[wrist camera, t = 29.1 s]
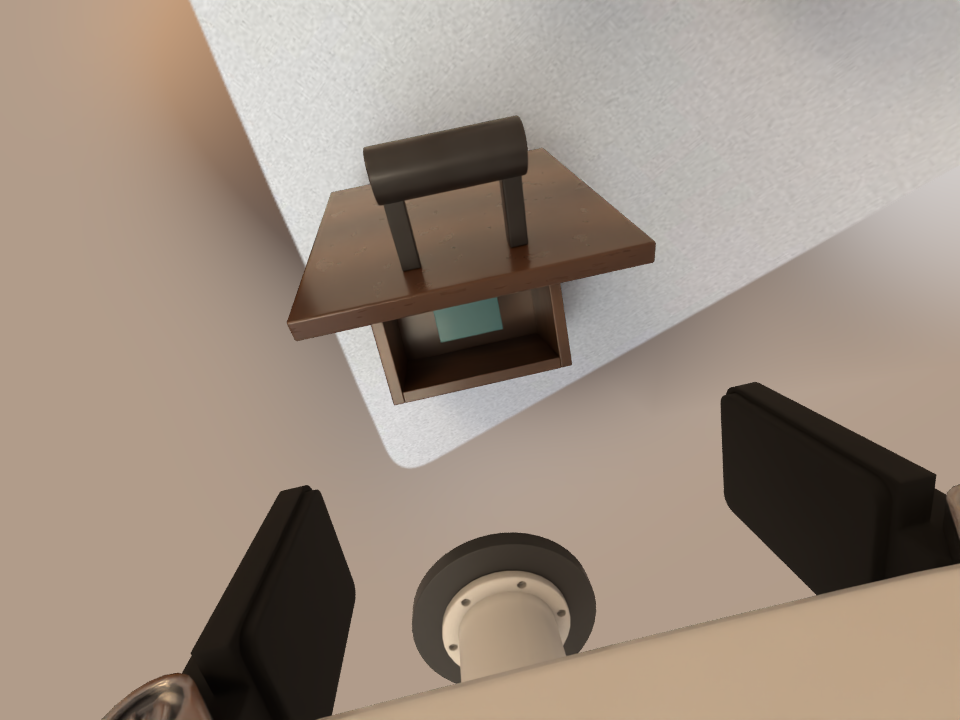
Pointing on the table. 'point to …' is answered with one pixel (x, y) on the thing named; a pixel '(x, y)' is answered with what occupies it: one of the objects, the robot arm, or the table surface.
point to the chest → (474, 348)
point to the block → (468, 319)
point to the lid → (456, 230)
